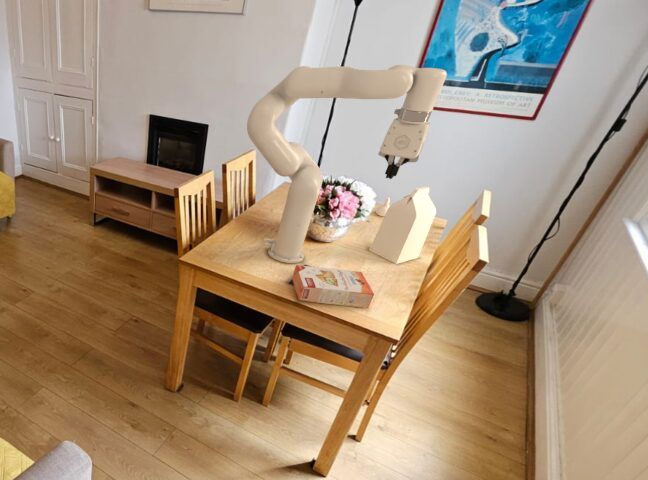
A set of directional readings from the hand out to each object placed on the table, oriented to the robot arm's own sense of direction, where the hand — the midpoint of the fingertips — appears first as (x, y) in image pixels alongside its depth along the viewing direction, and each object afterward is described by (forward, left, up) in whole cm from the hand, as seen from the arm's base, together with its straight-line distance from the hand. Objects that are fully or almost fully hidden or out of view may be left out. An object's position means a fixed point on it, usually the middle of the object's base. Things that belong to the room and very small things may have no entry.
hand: (389, 177), depth 141 cm
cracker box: (+7, -17, -31) cm, 36 cm away
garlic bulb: (-2, +61, -34) cm, 70 cm away
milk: (+9, +23, -34) cm, 42 cm away
